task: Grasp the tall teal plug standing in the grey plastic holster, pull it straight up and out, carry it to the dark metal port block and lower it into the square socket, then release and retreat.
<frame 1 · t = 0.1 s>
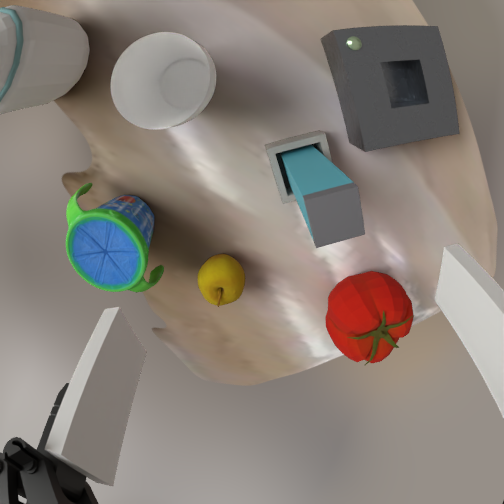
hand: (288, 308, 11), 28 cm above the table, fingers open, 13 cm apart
plug: (299, 163, 36), resting in holster
cup: (186, 83, 30), on the table
snack cup: (131, 217, 39), on the table
port: (385, 82, 30), on the table
tomato: (359, 290, 46), on the table
holster: (299, 163, 36), on the table
soap bottle: (61, 60, 27), on the table
apple: (223, 262, 43), on the table
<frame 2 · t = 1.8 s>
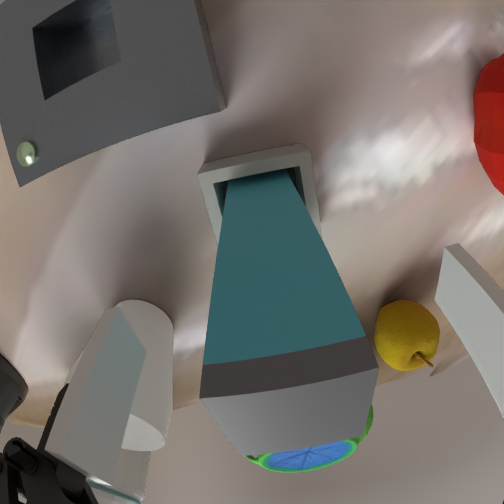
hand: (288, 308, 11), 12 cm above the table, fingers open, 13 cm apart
plug: (261, 198, 21), resting in holster
cup: (142, 322, 28), on the table
snack cup: (297, 384, 34), on the table
port: (110, 49, 15), on the table
tomato: (494, 113, 17), on the table
holster: (261, 198, 21), on the table
soap bottle: (118, 402, 36), on the table
apple: (391, 307, 28), on the table
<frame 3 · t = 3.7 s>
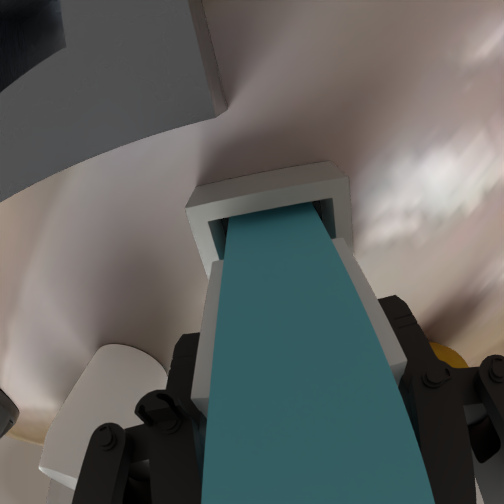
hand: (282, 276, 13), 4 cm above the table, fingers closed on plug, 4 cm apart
plug: (274, 233, 16), resting in holster, touching gripper
cup: (131, 366, 23), on the table
port: (73, 36, 10), on the table
holster: (275, 233, 16), on the table
soap bottle: (112, 433, 31), on the table
apple: (418, 348, 22), on the table
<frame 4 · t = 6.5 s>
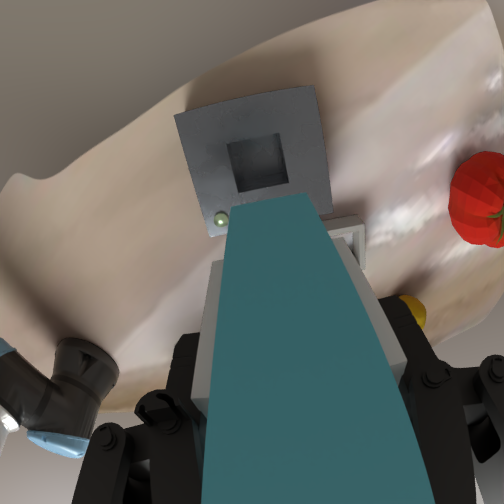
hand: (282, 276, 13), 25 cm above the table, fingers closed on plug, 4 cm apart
plug: (275, 232, 16), point 20 cm above the table, touching gripper
port: (256, 153, 34), on the table
tomato: (465, 185, 35), on the table
holster: (334, 241, 40), on the table
apple: (398, 299, 46), on the table
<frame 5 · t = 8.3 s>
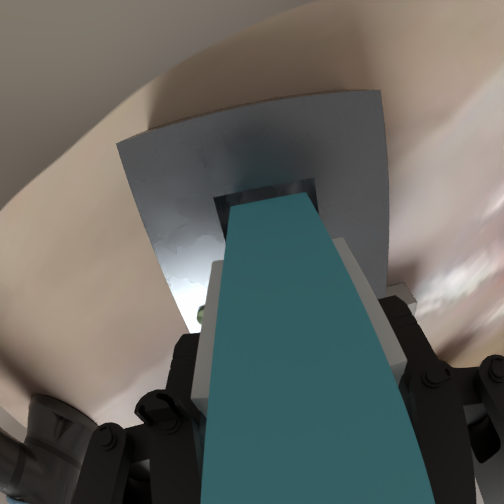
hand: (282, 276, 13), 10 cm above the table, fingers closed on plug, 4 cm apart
plug: (274, 232, 16), point 6 cm above the table, touching gripper
port: (266, 198, 21), on the table
holster: (369, 317, 27), on the table
when the fingers open (7 cm above the table, at t = 9.4 s): plug drops 2 cm, resting on port.
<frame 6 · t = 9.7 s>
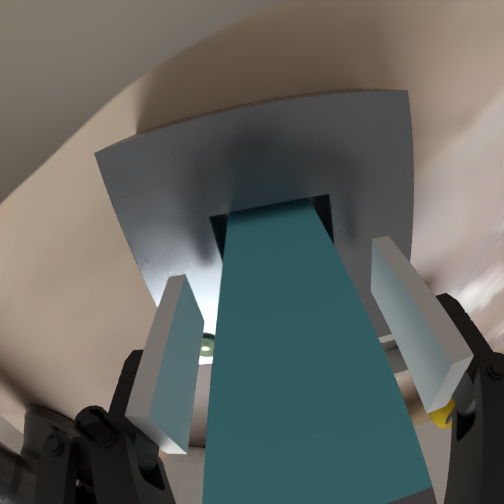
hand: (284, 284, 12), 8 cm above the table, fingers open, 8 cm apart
plug: (271, 218, 18), point 1 cm above the table, touching port
port: (270, 212, 19), on the table
holster: (379, 335, 25), on the table
soap bottle: (201, 454, 40), on the table
apple: (439, 380, 31), on the table
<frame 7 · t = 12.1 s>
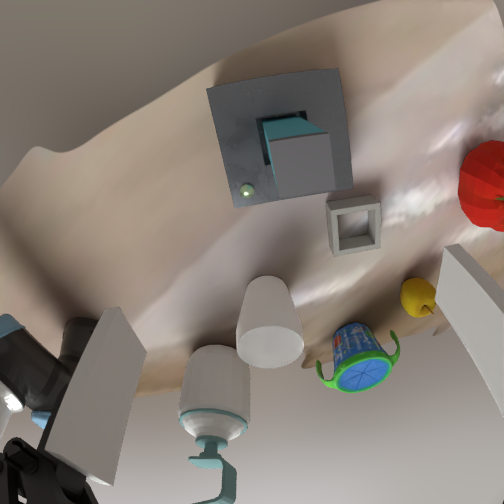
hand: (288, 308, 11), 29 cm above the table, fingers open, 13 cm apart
plug: (280, 132, 34), point 1 cm above the table, touching port
cup: (266, 291, 47), on the table
snack cup: (350, 334, 53), on the table
port: (280, 131, 34), on the table
tomato: (473, 173, 36), on the table
holster: (350, 220, 41), on the table
soap bottle: (219, 357, 56), on the table
apple: (409, 282, 47), on the table
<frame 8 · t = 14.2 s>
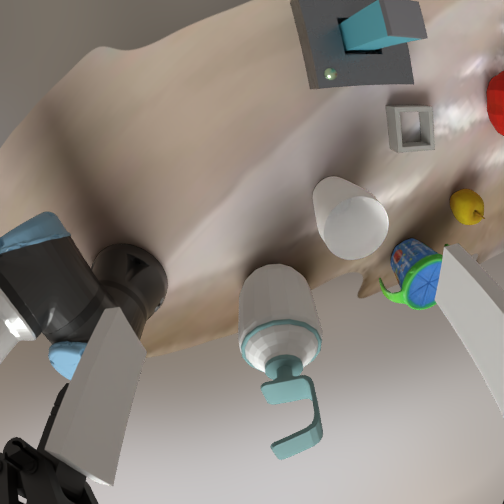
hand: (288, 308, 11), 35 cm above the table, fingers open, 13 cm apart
plug: (348, 40, 32), point 1 cm above the table, touching port
cup: (332, 195, 45), on the table
snack cup: (406, 254, 51), on the table
port: (347, 41, 32), on the table
tomato: (496, 100, 34), on the table
holster: (406, 126, 39), on the table
soap bottle: (273, 285, 54), on the table
apple: (455, 198, 45), on the table
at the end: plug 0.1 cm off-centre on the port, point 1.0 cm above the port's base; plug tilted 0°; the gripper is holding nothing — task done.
